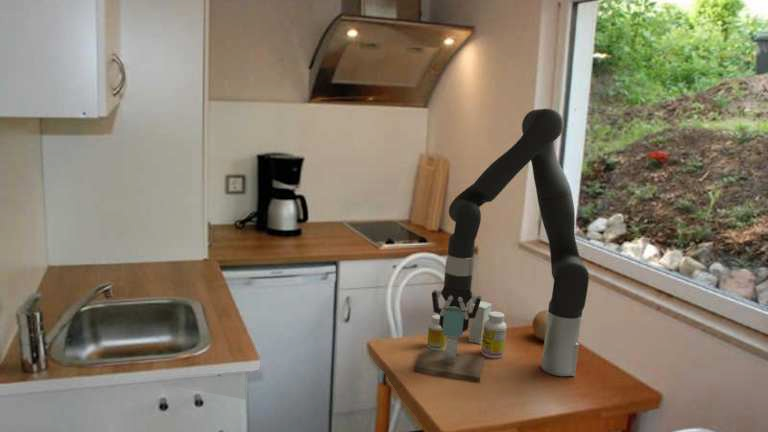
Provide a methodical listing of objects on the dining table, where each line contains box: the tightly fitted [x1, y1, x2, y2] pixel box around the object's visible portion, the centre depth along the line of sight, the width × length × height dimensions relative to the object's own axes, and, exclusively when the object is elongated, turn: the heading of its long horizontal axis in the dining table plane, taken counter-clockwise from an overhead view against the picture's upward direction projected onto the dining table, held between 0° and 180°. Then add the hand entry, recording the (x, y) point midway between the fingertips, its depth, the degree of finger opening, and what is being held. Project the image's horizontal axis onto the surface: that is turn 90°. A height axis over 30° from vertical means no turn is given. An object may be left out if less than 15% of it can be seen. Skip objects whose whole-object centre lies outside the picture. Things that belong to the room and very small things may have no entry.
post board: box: [413, 347, 485, 383], centre depth 183 cm, size 18×14×2 cm
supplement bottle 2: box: [480, 311, 508, 359], centre depth 193 cm, size 7×7×13 cm
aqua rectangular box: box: [442, 306, 464, 339], centre depth 180 cm, size 5×5×7 cm
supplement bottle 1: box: [426, 314, 447, 351], centre depth 196 cm, size 5×5×10 cm
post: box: [445, 336, 459, 365], centre depth 182 cm, size 3×3×8 cm
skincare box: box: [468, 300, 493, 345], centre depth 203 cm, size 6×4×12 cm
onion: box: [531, 309, 548, 342], centre depth 208 cm, size 10×10×10 cm
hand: (453, 329), depth 181 cm, fingers closed on aqua rectangular box, 5 cm apart
